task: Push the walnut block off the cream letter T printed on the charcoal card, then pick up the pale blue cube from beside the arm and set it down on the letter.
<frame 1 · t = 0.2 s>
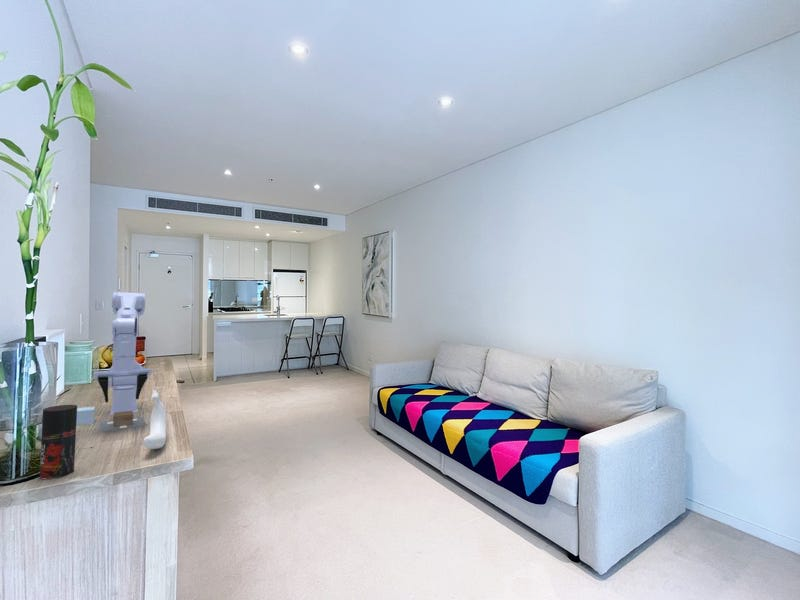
hand: (122, 400, 118), 10 cm above the sideboard, tool pointing down, fingers open, 7 cm apart
white curved piece: (155, 448, 106), on the sideboard
letter card: (122, 425, 124), on the sideboard
walnut block: (122, 423, 124), point 1 cm above the sideboard, touching letter card
deodorant: (57, 474, 88), on the sideboard
blue cube: (84, 424, 125), on the sideboard
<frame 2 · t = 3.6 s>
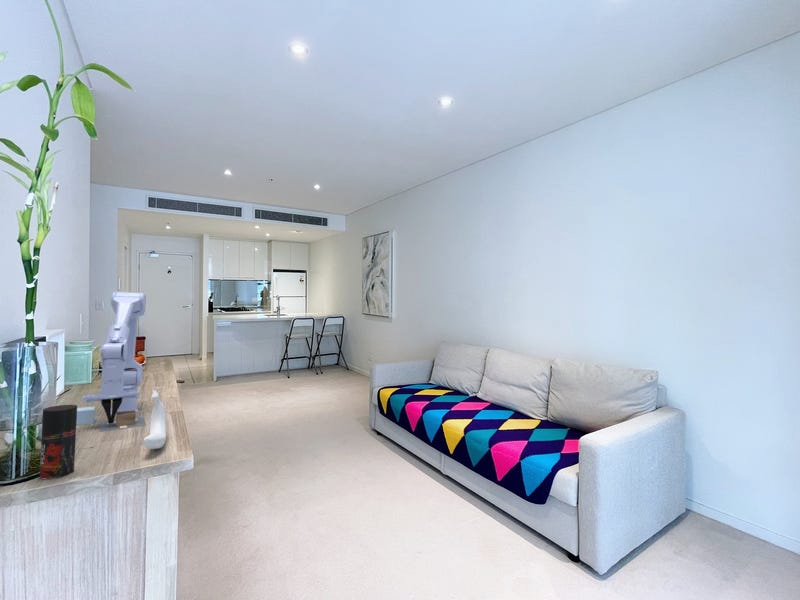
hand: (110, 422, 123), 1 cm above the sideboard, tool pointing down, fingers closed
walnut block: (125, 423, 125), point 1 cm above the sideboard, touching gripper
everything else where it was.
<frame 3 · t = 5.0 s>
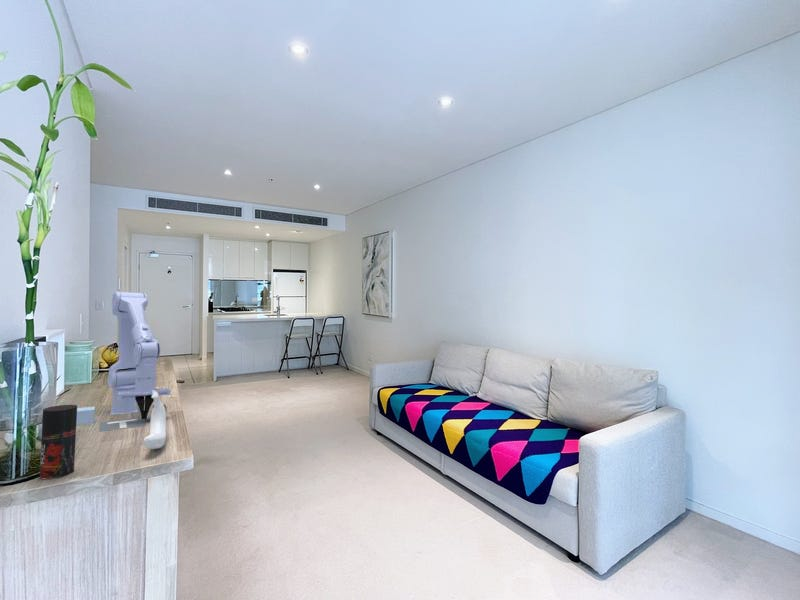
hand: (143, 418, 128), 1 cm above the sideboard, tool pointing down, fingers closed
walnut block: (153, 414, 129), point 2 cm above the sideboard, tilted 90°
everything else where it was.
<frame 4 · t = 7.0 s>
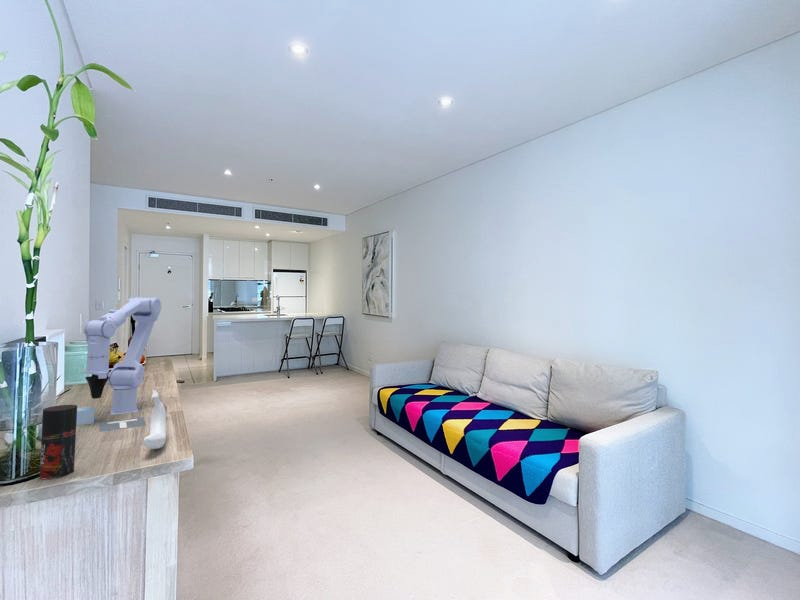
hand: (96, 397, 126), 8 cm above the sideboard, tool pointing down, fingers closed
nothing on the sideboard moved.
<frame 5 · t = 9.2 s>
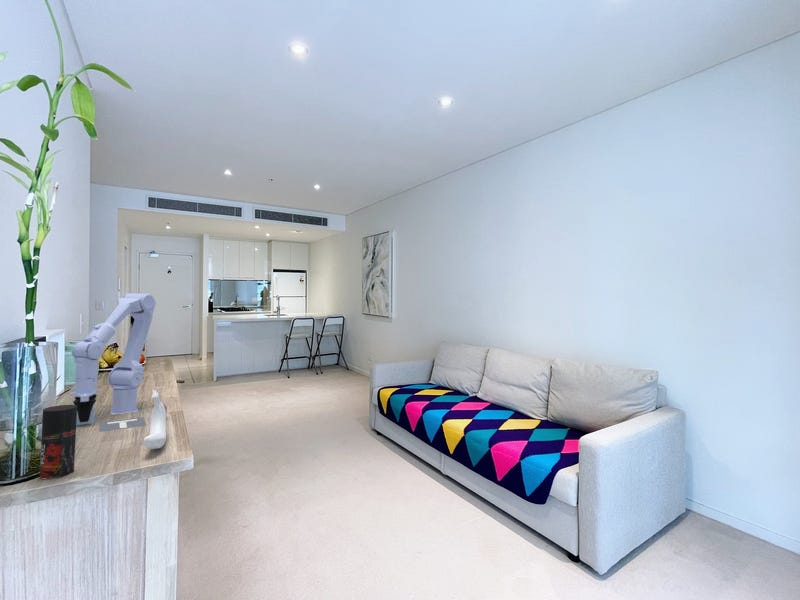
hand: (84, 419, 125), 1 cm above the sideboard, tool pointing down, fingers closed on blue cube, 5 cm apart
blue cube: (84, 424, 125), on the sideboard, touching gripper
everything else where it was.
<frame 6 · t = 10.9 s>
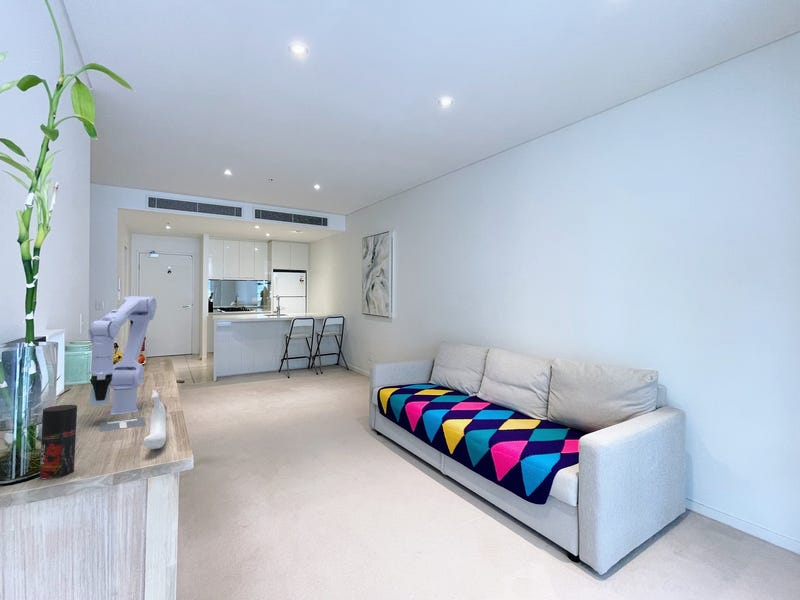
hand: (100, 398, 125), 8 cm above the sideboard, tool pointing down, fingers closed on blue cube, 5 cm apart
blue cube: (100, 403, 125), point 7 cm above the sideboard, touching gripper
everything else where it was.
when the fingers open (3 cm above the sideboard, at t = 12.8 s): blue cube drops 1 cm, resting on letter card.
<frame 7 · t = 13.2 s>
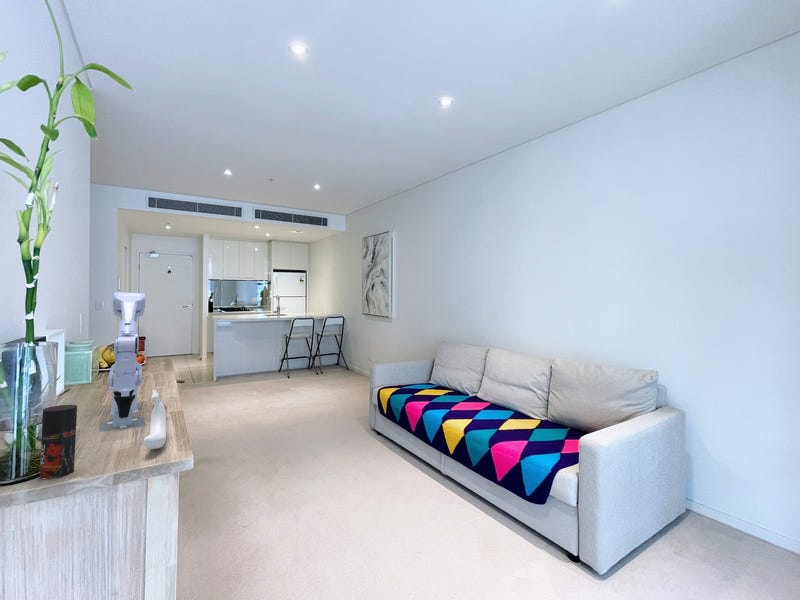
hand: (123, 414, 125), 3 cm above the sideboard, tool pointing down, fingers open, 7 cm apart
blue cube: (122, 423, 124), point 1 cm above the sideboard, touching letter card
everything else where it was.
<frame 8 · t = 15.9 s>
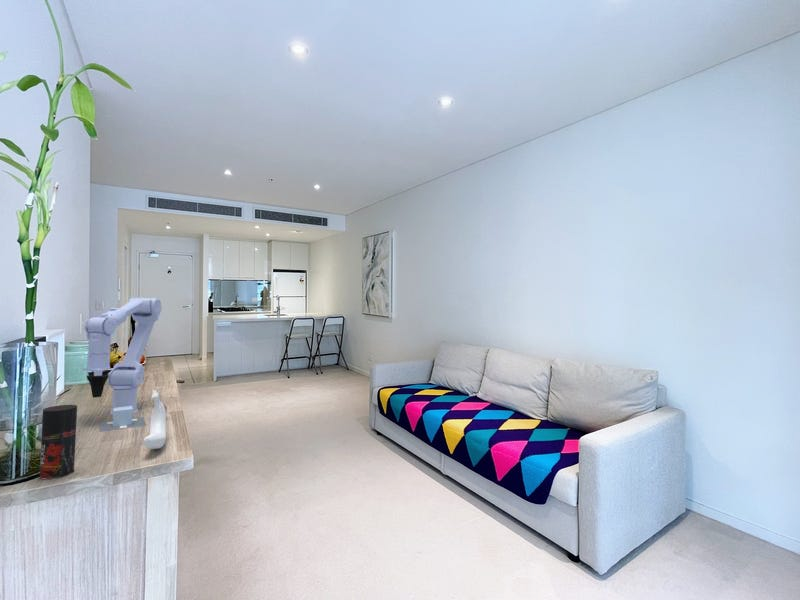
hand: (97, 394, 126), 9 cm above the sideboard, tool pointing down, fingers open, 7 cm apart
nothing on the sideboard moved.
at the end: blue cube 0.1 cm off-centre on the letter card, point 0.5 cm above the letter card's base; walnut block inside the target area (3.0 cm from its centre), point 2.4 cm above the sideboard; blue cube tilted 0° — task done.
